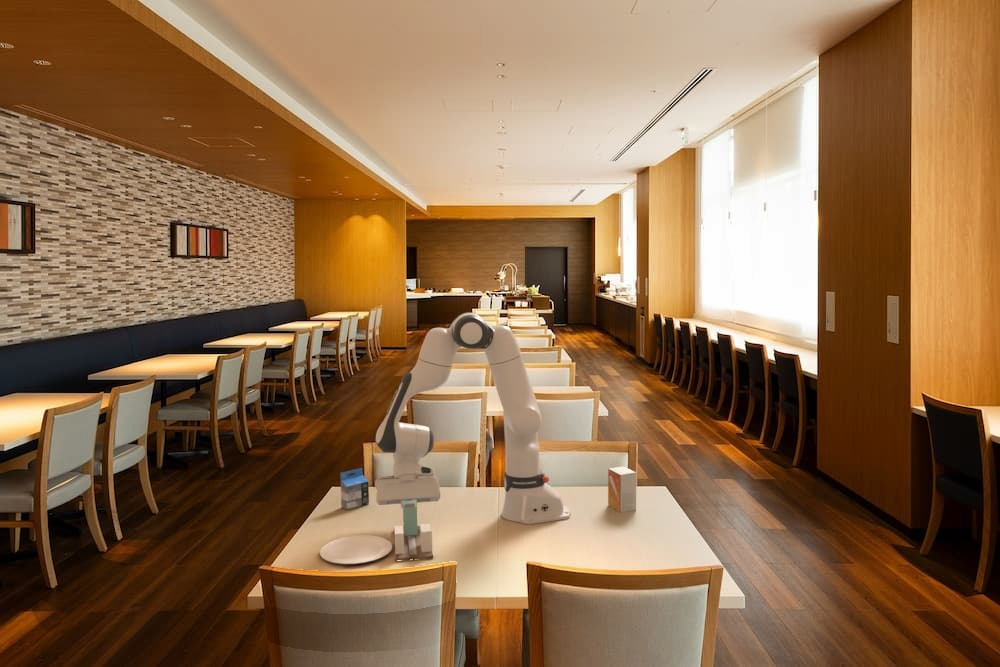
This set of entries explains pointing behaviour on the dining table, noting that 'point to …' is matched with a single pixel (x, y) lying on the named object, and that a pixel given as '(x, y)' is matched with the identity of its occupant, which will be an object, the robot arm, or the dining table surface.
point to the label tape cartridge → (354, 489)
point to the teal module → (410, 518)
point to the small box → (622, 489)
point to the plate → (355, 550)
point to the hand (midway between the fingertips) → (409, 514)
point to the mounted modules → (424, 538)
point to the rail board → (413, 548)
